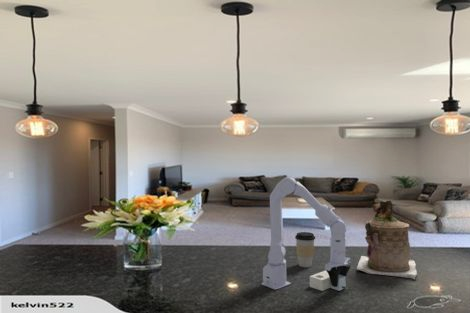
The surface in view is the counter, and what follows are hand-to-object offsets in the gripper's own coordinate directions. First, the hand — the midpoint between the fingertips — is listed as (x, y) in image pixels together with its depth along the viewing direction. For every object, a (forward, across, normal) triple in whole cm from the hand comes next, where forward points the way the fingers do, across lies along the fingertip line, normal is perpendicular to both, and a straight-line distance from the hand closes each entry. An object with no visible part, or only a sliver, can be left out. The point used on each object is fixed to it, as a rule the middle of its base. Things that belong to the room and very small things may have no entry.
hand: (338, 284), depth 144 cm
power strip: (+2, +2, +6) cm, 7 cm away
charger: (+2, 0, 0) cm, 2 cm away
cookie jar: (+2, +38, 0) cm, 38 cm away
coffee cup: (+2, +14, +27) cm, 31 cm away
